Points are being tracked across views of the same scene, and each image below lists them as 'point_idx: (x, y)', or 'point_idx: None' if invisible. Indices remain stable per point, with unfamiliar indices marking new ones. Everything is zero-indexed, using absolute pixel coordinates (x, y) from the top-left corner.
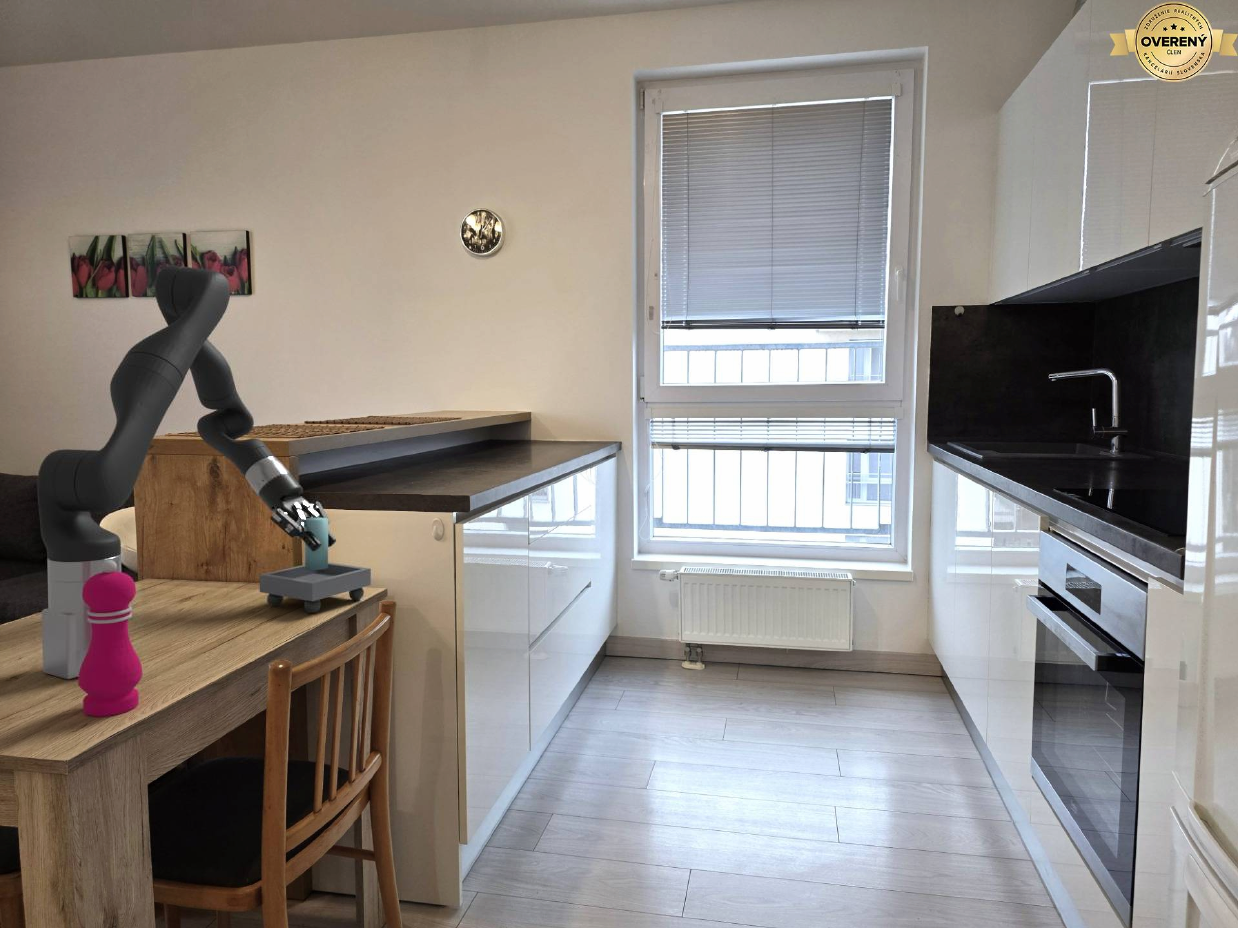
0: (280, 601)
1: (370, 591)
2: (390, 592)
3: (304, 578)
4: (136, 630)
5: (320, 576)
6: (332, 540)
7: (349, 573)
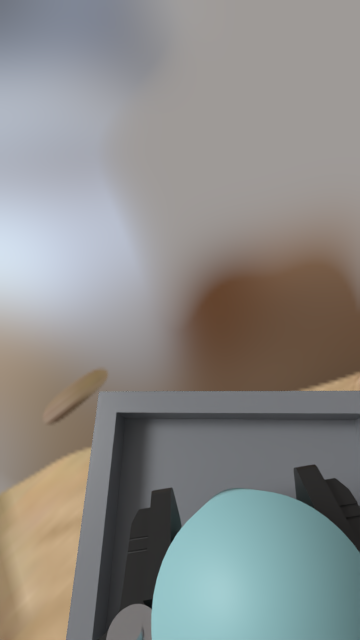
0: None
1: (51, 477)
2: (43, 418)
3: None
4: None
5: None
6: (171, 499)
7: (196, 398)
